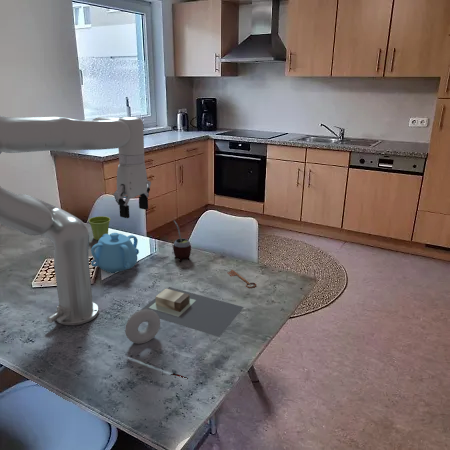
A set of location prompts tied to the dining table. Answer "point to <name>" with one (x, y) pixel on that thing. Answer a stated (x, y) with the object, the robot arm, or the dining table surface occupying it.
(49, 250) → the dining table surface
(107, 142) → the robot arm
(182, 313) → the mat
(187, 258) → the mate gourd
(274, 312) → the dining table surface
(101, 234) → the plant pot
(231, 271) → the key
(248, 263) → the dining table surface
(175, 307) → the wooden block
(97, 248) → the decorative pot
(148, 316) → the donut
